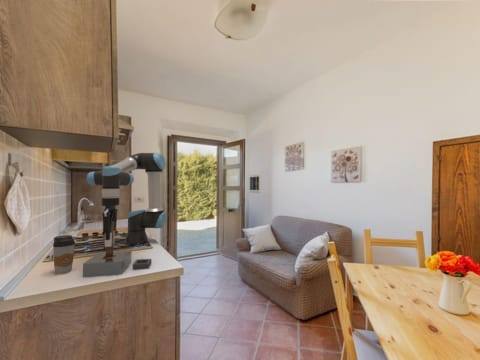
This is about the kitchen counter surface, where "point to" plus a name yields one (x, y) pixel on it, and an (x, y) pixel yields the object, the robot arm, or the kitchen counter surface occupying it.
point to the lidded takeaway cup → (61, 238)
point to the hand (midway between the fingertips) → (109, 245)
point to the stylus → (110, 249)
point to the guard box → (107, 264)
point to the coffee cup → (63, 255)
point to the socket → (141, 264)
